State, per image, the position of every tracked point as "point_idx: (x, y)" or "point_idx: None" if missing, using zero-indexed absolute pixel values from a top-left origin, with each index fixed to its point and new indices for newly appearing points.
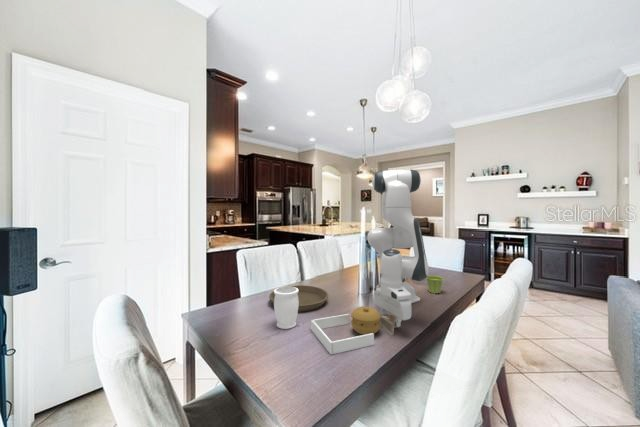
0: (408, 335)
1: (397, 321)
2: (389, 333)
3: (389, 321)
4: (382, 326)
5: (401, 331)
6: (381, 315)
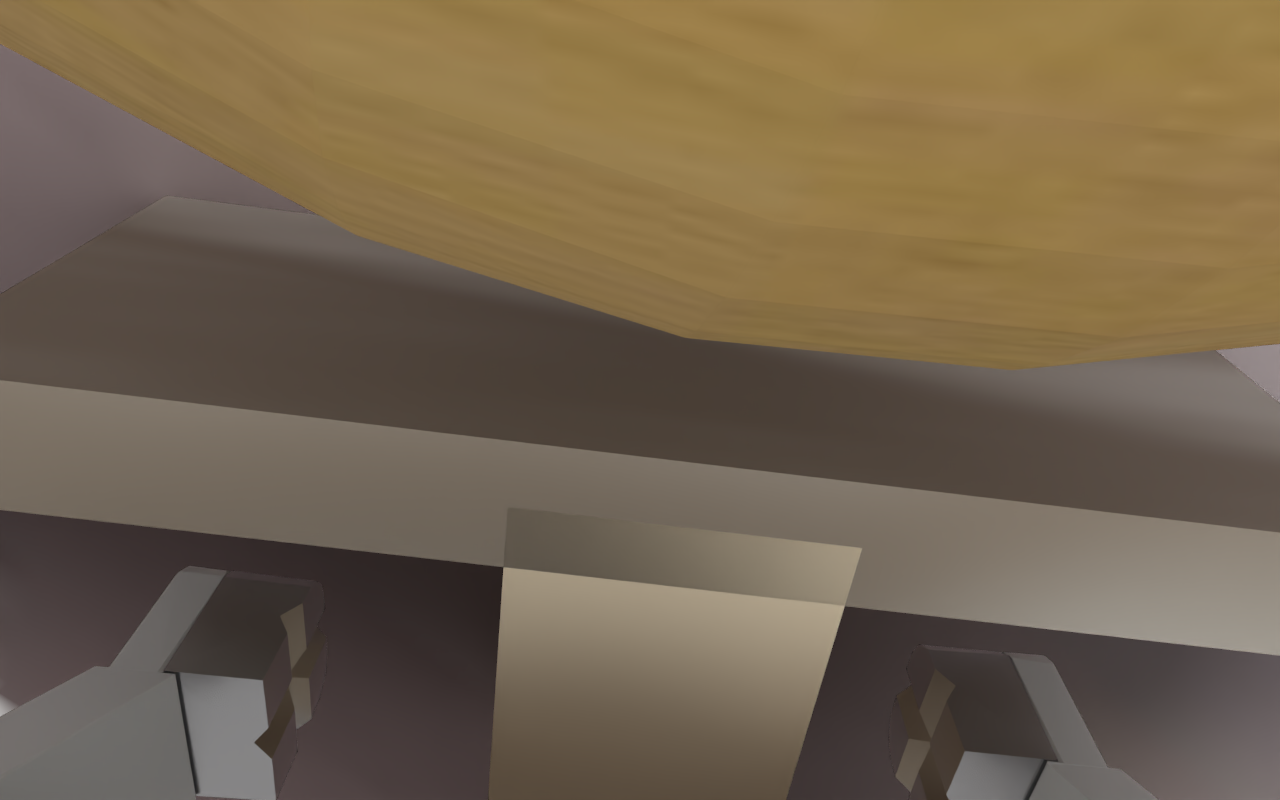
0: (22, 574)
1: (21, 719)
2: (268, 209)
3: (196, 479)
4: None
5: None
6: (952, 612)
